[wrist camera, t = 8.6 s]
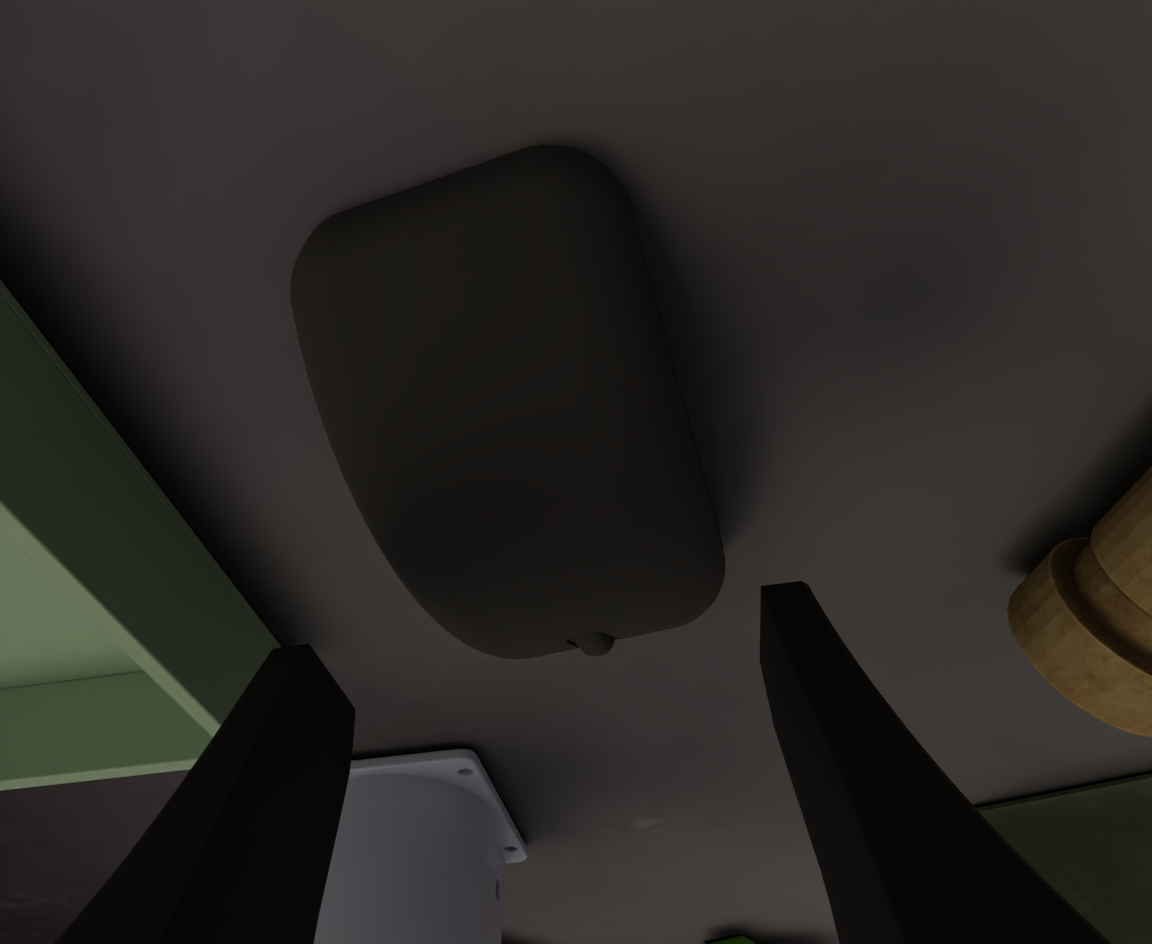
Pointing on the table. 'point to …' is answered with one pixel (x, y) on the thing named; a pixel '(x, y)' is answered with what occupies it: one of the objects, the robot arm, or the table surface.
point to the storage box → (101, 592)
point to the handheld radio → (1090, 850)
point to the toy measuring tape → (734, 941)
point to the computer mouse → (511, 405)
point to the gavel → (1096, 615)
